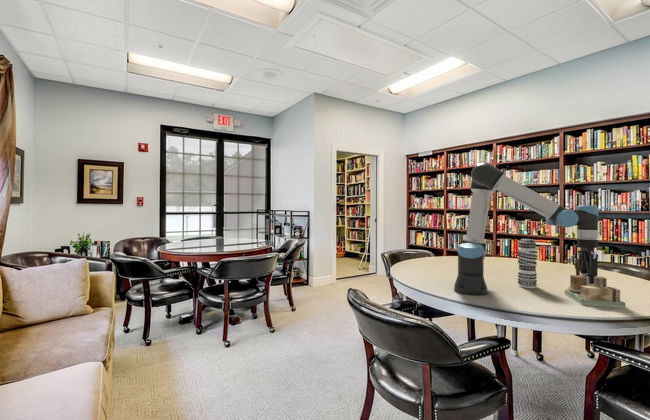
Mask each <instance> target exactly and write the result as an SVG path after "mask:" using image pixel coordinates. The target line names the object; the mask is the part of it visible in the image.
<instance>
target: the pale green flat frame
mask: <svg viewBox="0 0 650 420" xmlns="http://www.w3.org/2000/svg"><path fill="white" fill-rule="evenodd" d="M564 295H565V296H567V297H568V298H570V299H572V300H573V301H575V302H577V303H578V304H580V305H582V306H591V307H592V306H595V307H603V308H604V307H606V308H618V309H626V302H624V301H622V300H620V302H613V301H599V300H585V299H582V298H581V291H577V290H569V289H564Z"/></svg>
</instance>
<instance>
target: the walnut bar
mask: <svg viewBox="0 0 650 420" xmlns="http://www.w3.org/2000/svg"><path fill="white" fill-rule="evenodd" d="M569 278H570V281H569V282H570V284H569V286H570V288H572V289H574V290H581V285H582V286H587V277H586V276H581V274H580V275H576V274H570V277H569ZM594 279H595V286H598V287H608V286H607V278H606V277H604V276H601V275H600V276H599V275H597V276H595V277H594Z"/></svg>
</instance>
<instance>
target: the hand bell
mask: <svg viewBox="0 0 650 420" xmlns="http://www.w3.org/2000/svg"><path fill="white" fill-rule="evenodd" d="M574 269H575V275H581V272H580V271H579V258H576V259H575V261H574ZM566 290H574V289H572V288H570V285H569V286H567V289H566ZM577 291H581V290H577Z"/></svg>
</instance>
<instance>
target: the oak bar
mask: <svg viewBox="0 0 650 420" xmlns="http://www.w3.org/2000/svg"><path fill="white" fill-rule="evenodd" d="M581 298H582V299H585V300H599V301H613V302H620V301H621V289H619V288H616V287H612V286H607V287H598V286H582V285H581Z"/></svg>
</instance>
